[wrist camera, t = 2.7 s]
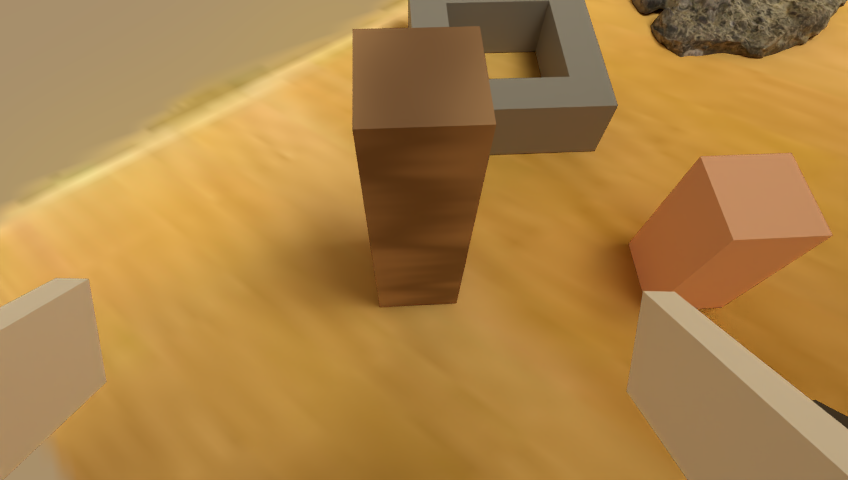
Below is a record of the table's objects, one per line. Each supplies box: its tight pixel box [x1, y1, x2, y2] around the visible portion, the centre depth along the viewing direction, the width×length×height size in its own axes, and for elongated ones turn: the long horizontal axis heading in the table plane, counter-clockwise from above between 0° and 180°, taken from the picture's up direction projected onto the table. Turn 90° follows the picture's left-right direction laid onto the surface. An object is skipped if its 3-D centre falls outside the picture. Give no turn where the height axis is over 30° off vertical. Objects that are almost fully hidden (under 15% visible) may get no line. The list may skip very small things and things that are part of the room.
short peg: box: [629, 153, 833, 309], centre depth 24 cm, size 4×4×8 cm
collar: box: [408, 0, 618, 155], centre depth 32 cm, size 11×11×4 cm
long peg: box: [353, 26, 496, 307], centre depth 21 cm, size 4×4×14 cm
